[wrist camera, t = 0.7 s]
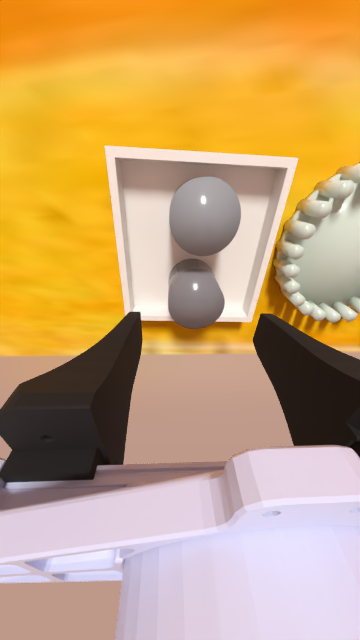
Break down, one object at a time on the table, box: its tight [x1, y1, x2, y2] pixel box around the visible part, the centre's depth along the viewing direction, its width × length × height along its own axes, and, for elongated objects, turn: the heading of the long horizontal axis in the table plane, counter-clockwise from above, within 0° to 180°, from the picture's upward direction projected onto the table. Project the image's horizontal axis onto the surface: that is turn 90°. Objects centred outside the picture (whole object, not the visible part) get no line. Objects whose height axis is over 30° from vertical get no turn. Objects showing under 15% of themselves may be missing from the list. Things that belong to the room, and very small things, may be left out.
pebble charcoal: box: [168, 258, 225, 329], centre depth 16 cm, size 4×4×4 cm
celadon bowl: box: [273, 162, 360, 323], centre depth 17 cm, size 12×12×3 cm
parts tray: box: [105, 146, 299, 322], centre depth 16 cm, size 12×12×2 cm
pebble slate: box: [169, 177, 241, 256], centre depth 13 cm, size 4×4×4 cm
